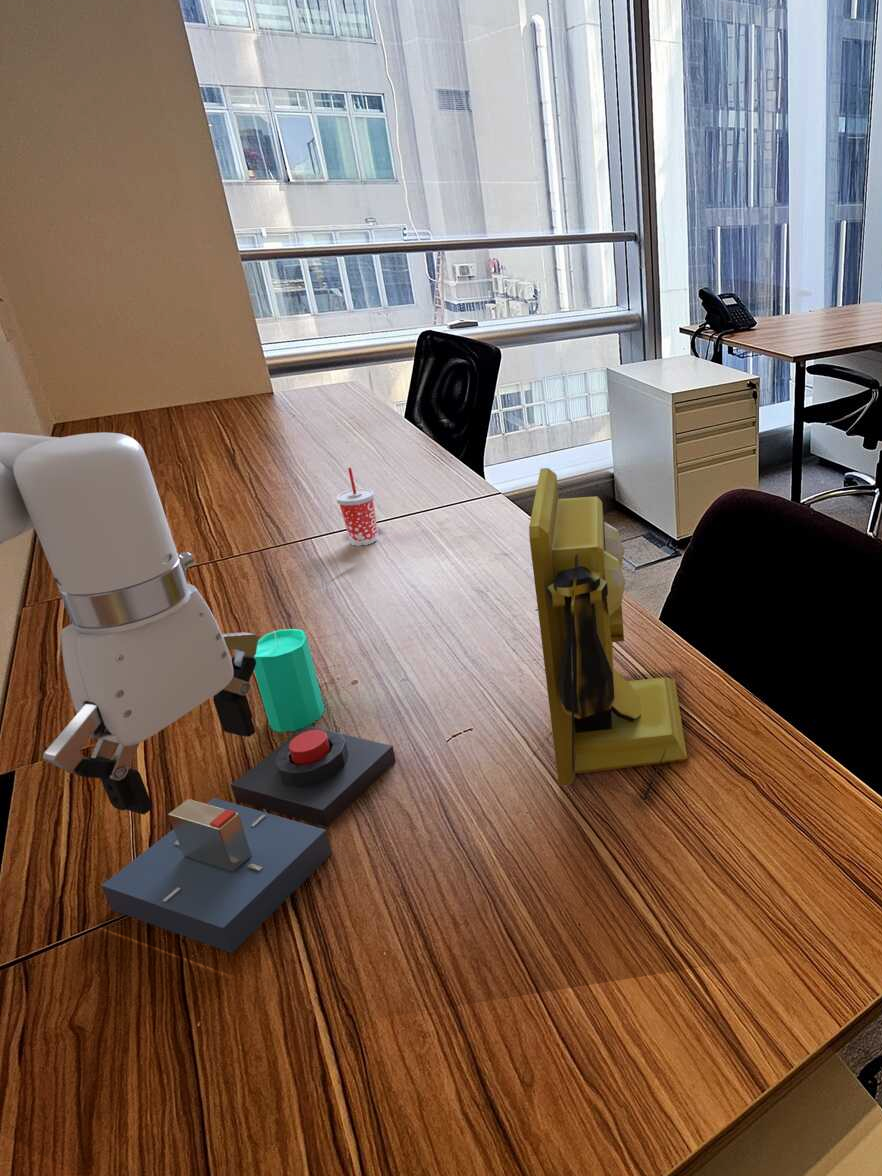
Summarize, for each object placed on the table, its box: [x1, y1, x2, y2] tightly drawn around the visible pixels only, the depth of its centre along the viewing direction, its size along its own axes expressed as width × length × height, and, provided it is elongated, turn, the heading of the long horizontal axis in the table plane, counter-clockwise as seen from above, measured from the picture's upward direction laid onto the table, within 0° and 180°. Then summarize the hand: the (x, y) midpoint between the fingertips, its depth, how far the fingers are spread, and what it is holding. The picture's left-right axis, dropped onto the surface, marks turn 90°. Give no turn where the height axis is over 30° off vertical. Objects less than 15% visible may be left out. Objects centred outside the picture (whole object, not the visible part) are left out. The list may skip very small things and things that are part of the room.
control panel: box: [100, 797, 333, 954], centre depth 71 cm, size 14×11×3 cm
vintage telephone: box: [528, 467, 688, 802], centre depth 85 cm, size 31×14×30 cm, turn 9°
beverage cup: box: [335, 467, 379, 547], centre depth 138 cm, size 6×6×14 cm
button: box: [289, 730, 330, 765], centre depth 82 cm, size 4×4×2 cm
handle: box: [167, 798, 252, 872], centre depth 70 cm, size 6×2×5 cm, turn 72°
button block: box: [230, 725, 397, 828], centre depth 83 cm, size 12×10×4 cm
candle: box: [253, 628, 325, 733], centre depth 92 cm, size 6×6×12 cm
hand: (191, 768), depth 67 cm, fingers open, 9 cm apart
